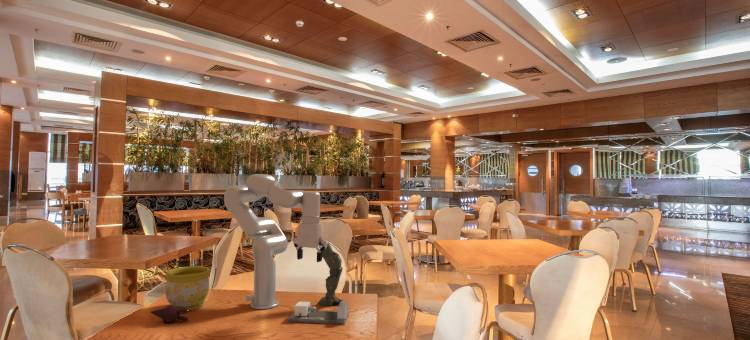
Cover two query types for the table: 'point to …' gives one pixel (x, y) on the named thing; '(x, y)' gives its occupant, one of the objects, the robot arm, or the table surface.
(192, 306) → the flowerpot
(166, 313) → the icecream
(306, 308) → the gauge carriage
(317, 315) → the gauge base
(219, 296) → the table surface
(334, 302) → the mechanical leg
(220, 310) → the table surface
